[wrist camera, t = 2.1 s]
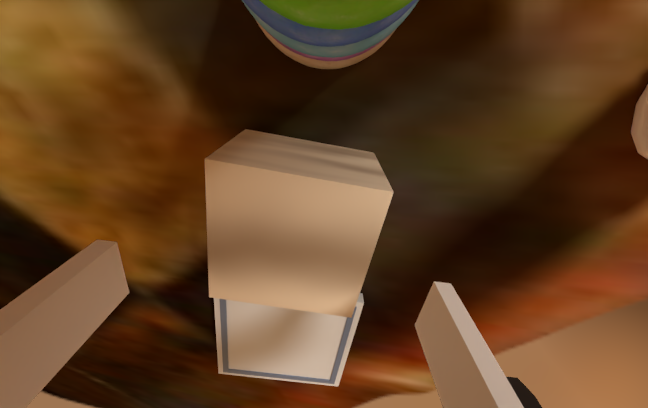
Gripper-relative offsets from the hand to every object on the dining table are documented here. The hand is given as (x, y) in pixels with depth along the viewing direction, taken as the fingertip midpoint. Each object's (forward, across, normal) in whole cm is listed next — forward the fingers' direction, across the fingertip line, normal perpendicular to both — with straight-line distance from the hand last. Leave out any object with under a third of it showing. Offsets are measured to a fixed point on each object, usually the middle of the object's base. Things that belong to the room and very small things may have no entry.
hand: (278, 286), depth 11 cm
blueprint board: (+8, 0, -13) cm, 16 cm away
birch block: (+8, 0, +1) cm, 8 cm away
